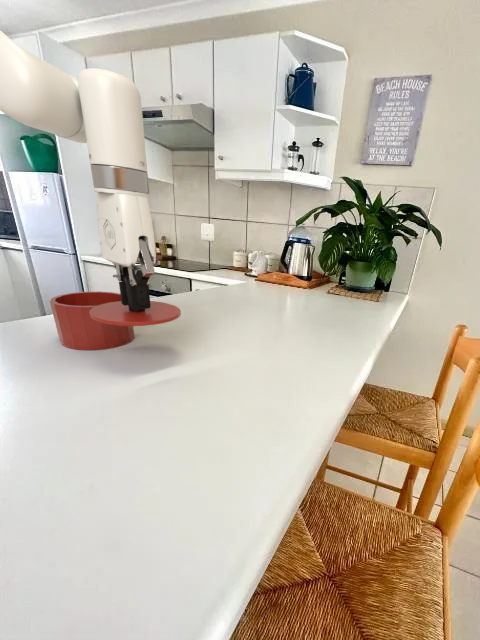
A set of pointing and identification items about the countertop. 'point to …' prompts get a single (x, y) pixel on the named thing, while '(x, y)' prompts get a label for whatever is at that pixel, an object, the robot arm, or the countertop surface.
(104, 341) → the pot
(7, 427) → the countertop surface
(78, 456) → the countertop surface
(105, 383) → the countertop surface
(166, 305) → the lid
